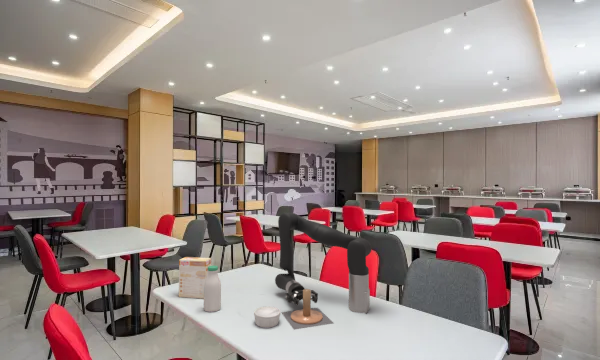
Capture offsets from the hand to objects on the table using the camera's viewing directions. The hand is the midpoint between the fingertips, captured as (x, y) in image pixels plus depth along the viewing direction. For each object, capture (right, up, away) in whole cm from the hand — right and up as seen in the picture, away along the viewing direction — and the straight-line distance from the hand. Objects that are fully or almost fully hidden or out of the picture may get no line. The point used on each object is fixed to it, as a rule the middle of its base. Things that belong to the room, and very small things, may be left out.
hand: (307, 301), depth 141 cm
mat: (0, -8, 0) cm, 8 cm away
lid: (0, -7, 0) cm, 7 cm away
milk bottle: (-44, -7, +10) cm, 46 cm away
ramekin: (-17, -8, -5) cm, 19 cm away
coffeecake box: (-58, -8, +28) cm, 65 cm away
